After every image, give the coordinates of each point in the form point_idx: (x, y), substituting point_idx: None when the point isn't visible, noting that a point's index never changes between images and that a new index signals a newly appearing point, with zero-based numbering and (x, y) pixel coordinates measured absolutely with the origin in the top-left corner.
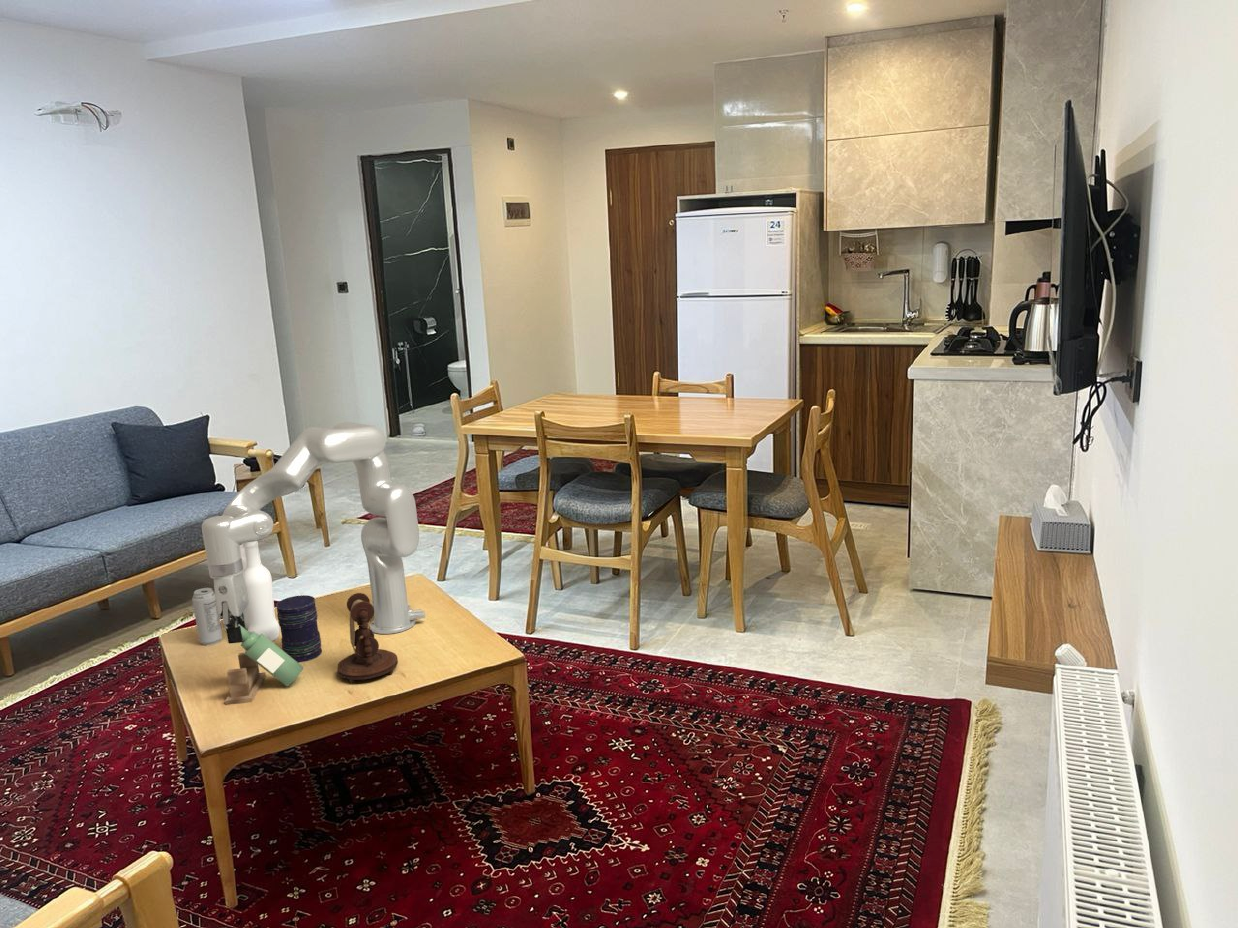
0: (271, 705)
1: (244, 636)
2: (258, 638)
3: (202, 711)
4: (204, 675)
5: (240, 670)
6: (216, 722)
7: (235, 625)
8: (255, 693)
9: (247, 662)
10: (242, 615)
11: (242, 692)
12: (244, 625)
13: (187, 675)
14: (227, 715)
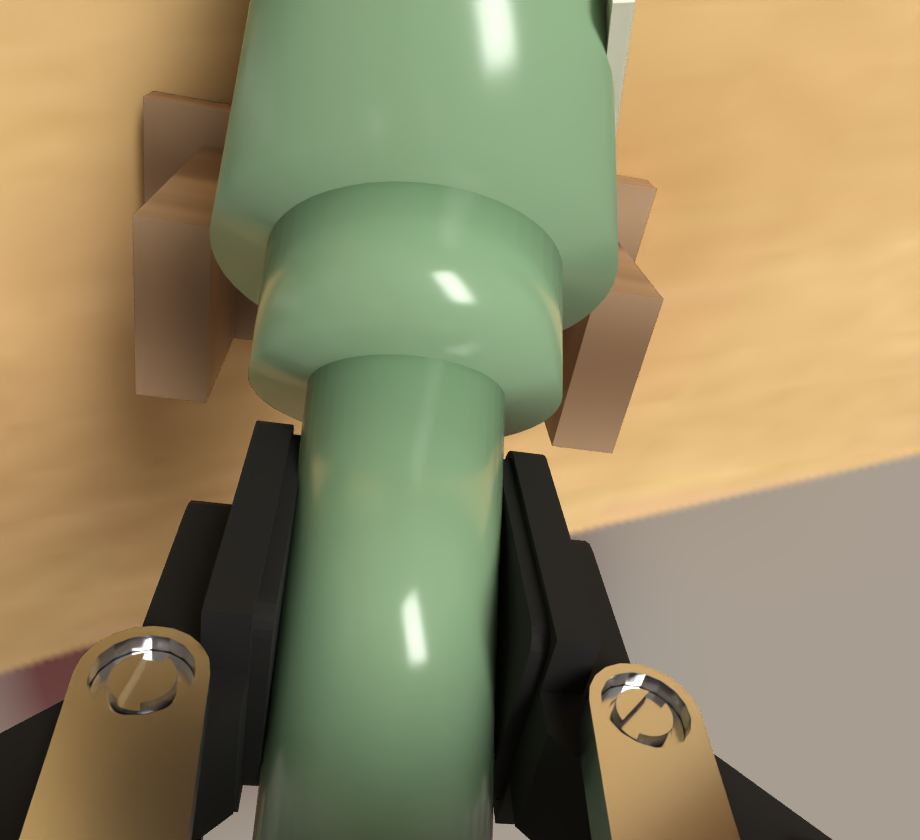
0: (813, 5)
1: (500, 450)
2: (492, 203)
3: (617, 483)
4: (30, 545)
5: (635, 338)
6: (834, 386)
7: (698, 751)
8: None
9: (228, 285)
10: (166, 730)
11: None
12: (265, 537)
13: (8, 634)
14: (774, 332)
